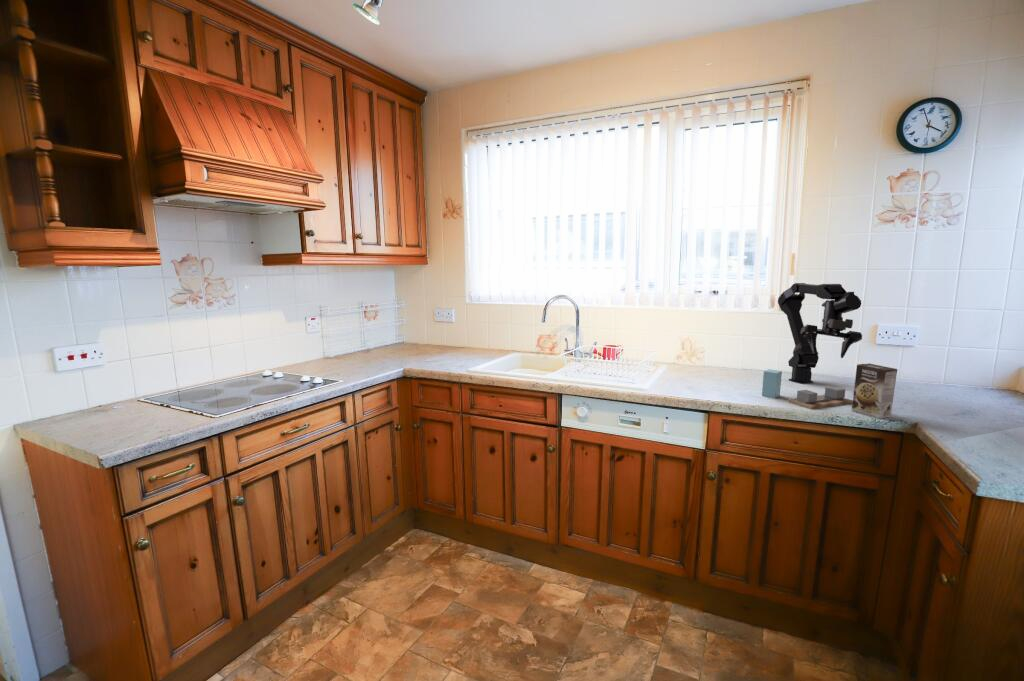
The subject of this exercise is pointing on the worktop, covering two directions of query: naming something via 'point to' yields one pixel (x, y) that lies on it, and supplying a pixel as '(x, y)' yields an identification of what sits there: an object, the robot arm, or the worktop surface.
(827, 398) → the rail
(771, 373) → the block
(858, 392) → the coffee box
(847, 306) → the robot arm
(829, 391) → the mounted modules
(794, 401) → the board
